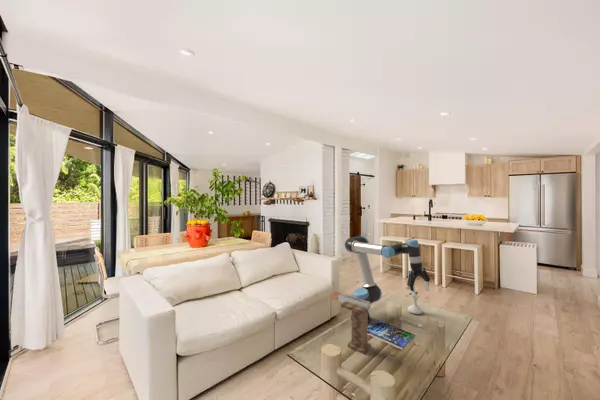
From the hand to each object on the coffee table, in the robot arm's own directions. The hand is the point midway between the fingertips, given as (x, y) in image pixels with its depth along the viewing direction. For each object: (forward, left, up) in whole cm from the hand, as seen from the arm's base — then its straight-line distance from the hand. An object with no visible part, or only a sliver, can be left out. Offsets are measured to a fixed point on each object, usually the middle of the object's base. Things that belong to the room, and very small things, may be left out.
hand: (420, 293), depth 186 cm
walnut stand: (+2, -47, -32) cm, 57 cm away
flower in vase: (-34, +16, -32) cm, 49 cm away
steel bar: (0, -50, -4) cm, 50 cm away
